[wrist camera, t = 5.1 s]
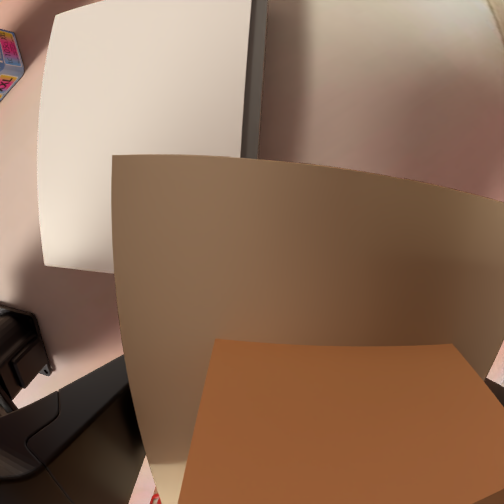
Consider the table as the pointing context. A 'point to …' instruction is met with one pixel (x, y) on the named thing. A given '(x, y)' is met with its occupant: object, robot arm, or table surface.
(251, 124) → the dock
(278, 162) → the pallet
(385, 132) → the table surface
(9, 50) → the ink cartridge box
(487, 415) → the tan cardboard cube
